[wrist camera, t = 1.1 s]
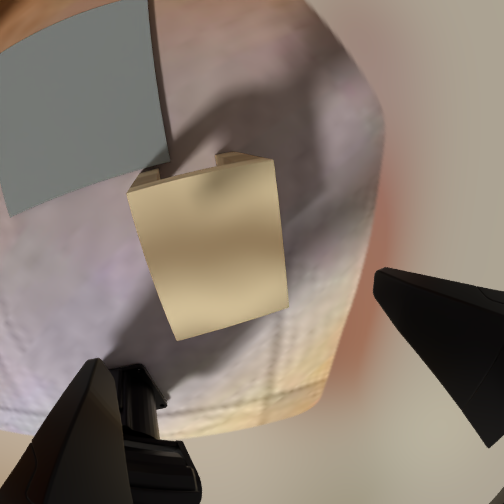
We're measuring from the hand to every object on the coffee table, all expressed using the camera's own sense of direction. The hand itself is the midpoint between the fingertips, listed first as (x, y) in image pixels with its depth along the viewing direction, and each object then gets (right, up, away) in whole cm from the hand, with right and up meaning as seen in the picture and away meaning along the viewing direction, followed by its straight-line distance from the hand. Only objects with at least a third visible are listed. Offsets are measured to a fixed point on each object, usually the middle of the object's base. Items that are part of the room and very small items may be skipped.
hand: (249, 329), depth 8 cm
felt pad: (-11, +12, +4) cm, 17 cm away
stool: (-3, +4, +10) cm, 12 cm away
